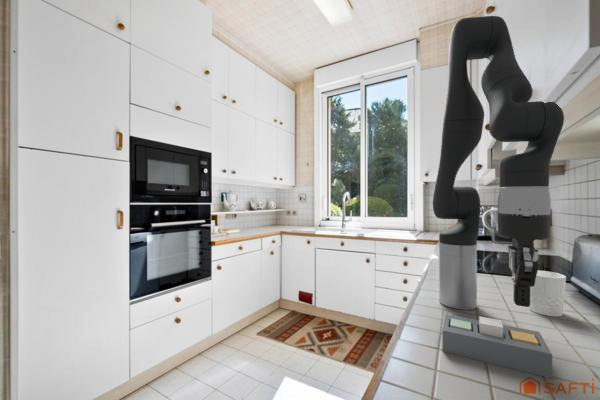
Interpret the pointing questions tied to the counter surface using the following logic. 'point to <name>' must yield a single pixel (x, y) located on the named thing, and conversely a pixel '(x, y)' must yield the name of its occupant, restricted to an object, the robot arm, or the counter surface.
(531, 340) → the amber key
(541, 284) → the white cup
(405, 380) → the counter surface
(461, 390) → the counter surface
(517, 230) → the robot arm
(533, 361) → the keypad
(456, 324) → the sage green key
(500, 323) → the off-white key
